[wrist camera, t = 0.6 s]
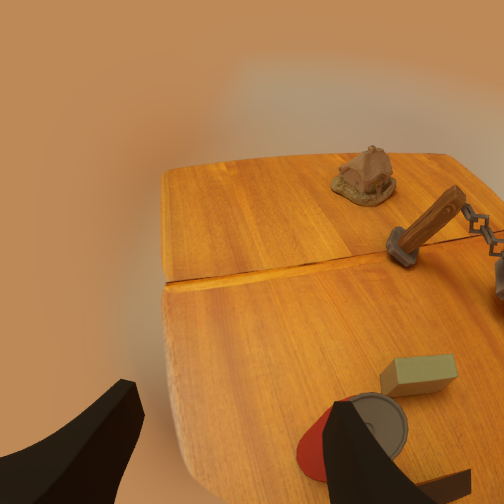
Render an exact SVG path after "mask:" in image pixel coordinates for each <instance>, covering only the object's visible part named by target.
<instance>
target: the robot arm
mask: <svg viewBox="0 0 504 504" xmlns="http://www.w3.org/2000/svg"><path fill="white" fill-rule="evenodd" d="M144 416H145V414H144V411H143V407H142V404H141V401H140V397H139V394H138V390H137V387H136V383H135V382H132V381H128V380H124V379H120V380H119V381H118V382H117V383H115V384H114V385H113V386H112V387H111V388H110V389H109V390H108V391H106V393H104V394H103V395H102V396H101V397H100V398H99V399H97V400H96V401H95V402H94V403H93V404H92V405H91V406H89V407H88V408H87V409H86V410H85V411H83V412H82V413H81V414H80V415H79V416H77V417H76V418H75V419H73V420H72V421H71V422H69V423H68V424H66V425H65V426H64V427H62V428H61V429H59V430H58V431H56V432H55V433H53V434H52V435H50V436H48V437H47V438H45V439H43V440H41V441H39V442H38V443H36V444H34V445H32V446H30V447H27V448H25V449H23V450H21V451H18V452H15V453H13V454H10V455H7V456H4V457H0V504H114V502H115V498H116V494H117V490H118V487H119V484H120V481H121V478H122V476H123V474H124V471H125V469H126V467H127V464H128V462H129V460H130V457H131V455H132V452H133V450H134V448H135V445H136V443H137V441H138V438H139V435H140V432H141V428H142V425H143V421H144ZM322 447H323V460H324V466H325V472H326V478H327V484H328V491H329V497H330V504H438V503H437V502H436V501H434V500H433V499H432V498H430V497H429V496H428V495H426V494H425V493H424V492H423V491H421V490H420V489H419V488H418V487H417V486H416V485H415V484H414V483H413V482H412V481H411V480H410V479H409V478H408V477H407V476H406V475H405V474H404V473H403V472H402V471H401V470H400V469H399V468H398V467H397V466H396V465H395V463H394V462H393V461H392V460H391V458H390V457H389V456H388V455H387V454H386V452H385V451H384V450H383V448H382V447H381V446H380V444H379V443H378V441H377V440H376V439H375V437H374V436H373V434H372V433H371V432H370V430H369V429H368V427H367V426H366V424H365V422H364V421H363V419H362V418H361V416H360V415H359V413H358V411H357V410H356V408H355V407H354V405H353V403H352V402H351V401H334V404H333V406H332V409H331V412H330V414H329V417H328V419H327V422H326V424H325V427H324V429H323V432H322Z"/></svg>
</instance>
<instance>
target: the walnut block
mask: <svg viewBox="0 0 504 504" xmlns="http://www.w3.org/2000/svg"><path fill="white" fill-rule="evenodd" d="M415 485H416V486H417V487H418V488H419V489H420V490H421V491H423V492H424V493H425V494H426V495H428V496H429V497H430V498H432V499H433V500H434V501H436V502H437V503H438V504H446V503H449V502H452V501H454V500H457V499H459V498H462V497H464V496H467V495H469V494H471V469H468V470H464V471H460V472H457V473H453V474H449V475H445V476H442V477H439V478H435V479H432V480H428V481H425V482H421V483H417V484H415Z"/></svg>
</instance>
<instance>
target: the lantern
mask: <svg viewBox="0 0 504 504" xmlns="http://www.w3.org/2000/svg"><path fill="white" fill-rule="evenodd" d="M465 202H466V195H465V194H464V193H463V192H462V190H461V189H460V188H459V187H458V186H457V185H456V184H455V185H454V186H452V187H451V188H449V189H448V190H446V191H445V192H444V193H443V194H442V195H441V196H440V197H439V199H438V200H437V201H436V202H435V203H434V204H433V205H432V206H431V207H430V208H429V209H428V210H427V211H426V212H425V213H424V214H423V215H422V216H421V217H420V218H419V219H417V220H416V221H415V222H414V223H413V224H412V225H411V226H410V227H409V228H408V229H407V230H405V229H403V228H402V227H395V228H394V229H393V230H392V232H391V234H390V236H389V239H388V241H387V243H386V246H387V249H388V252H389V253H390V254H391V255H392V256H393V257H395V258H396V259H397V260H398V261H399V262H400V263H402V264H403V265H404V266H405V267H411V266H412V265H414V264H415V262H416V259H417V255H418V252H419V247H420V246H421V245H422V244H423V243H425V242H426V241H427V240H428V239H429V238H431V237H432V236H433V235H434V234H435V233H437V232H438V231H439V230H440V229H441V228H442V227H444V226H445V225H446V224H447V223H448V222H449V221H450V220H451V219H452V218H454V217H455V216H456V215H457V214H458V213H459V211H460V210H461V211H462V213H463V214H464V216H465V218H466V220H468V221H470V228H469V233H478V234H483V236H484V238H485V240H486V242H487V244H490V251H489V256H497V257H501V258H500V259H499V260H498V261H496V262H495V275H496V295H497V296H498V297H499V298H500V300H501V301H502V300H503V299H504V251H501V253H493V248H494V245H497V242H500V243H504V239H496V238H495V236H494V234H493V232H492V230H491V228H490V227H488V225H489V215H482V214H475V212H474V211H473V209H472V207H471V205H470V204H467V203H465ZM467 210H468V211H467ZM478 218H482V219H485V226H481V225H480V230H475V229H473V223H474V222H477V223H478Z"/></svg>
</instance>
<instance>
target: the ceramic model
mask: <svg viewBox="0 0 504 504" xmlns="http://www.w3.org/2000/svg"><path fill="white" fill-rule="evenodd" d="M339 171H340V172H339V176H337V177H335V178H334V179H333V180H332V183H331V188H332V190H333V191H335V192H337V193H339V194H341V195H343V196H345V197H346V198H348V199H349V200H351V201H352V202H354V203H356V204H359V205H364V206H376V205H378V204H379V203H381V202H383V201H384V200H386V199H387V198H388V197H389V196H390V195H391V194H392V193H393V191H394V190H395V188H396V180H395V179H394V178H392V177H390V176H391V175H392V174H393V171H392V166H391V163H390V159H389V156H388V155H387V154H386V153H385V152H384V150H383V149H381V148H376V147H375V146H369V147H368V151H364V152H362V153H361V154H360V155H358V156H357V157H355V158H354V159H352V160H351V161H349V162H348V163H346V164H344V165H341V166H340V167H339Z"/></svg>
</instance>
